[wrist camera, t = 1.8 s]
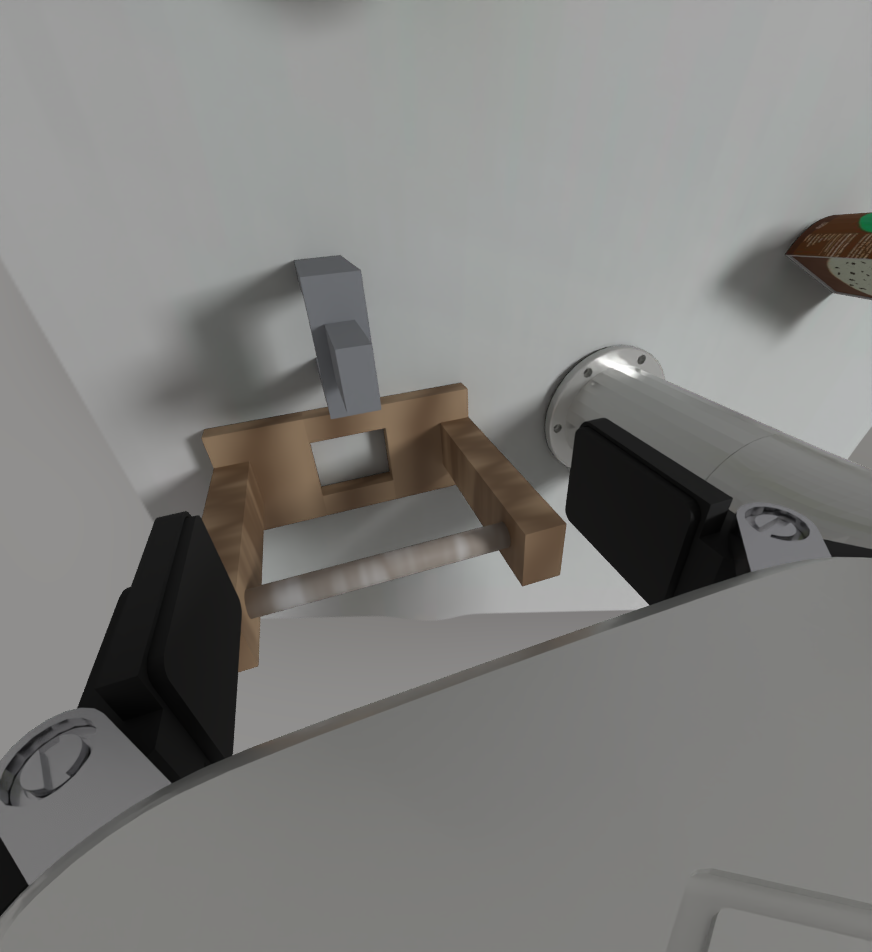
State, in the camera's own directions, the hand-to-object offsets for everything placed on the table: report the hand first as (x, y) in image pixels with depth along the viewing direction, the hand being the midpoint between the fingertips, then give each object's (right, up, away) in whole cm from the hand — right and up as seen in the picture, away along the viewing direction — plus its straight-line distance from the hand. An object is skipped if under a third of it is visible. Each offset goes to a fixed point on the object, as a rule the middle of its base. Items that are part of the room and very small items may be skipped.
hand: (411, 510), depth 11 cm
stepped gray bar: (-7, +12, +19) cm, 24 cm away
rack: (-6, +3, +25) cm, 26 cm away
